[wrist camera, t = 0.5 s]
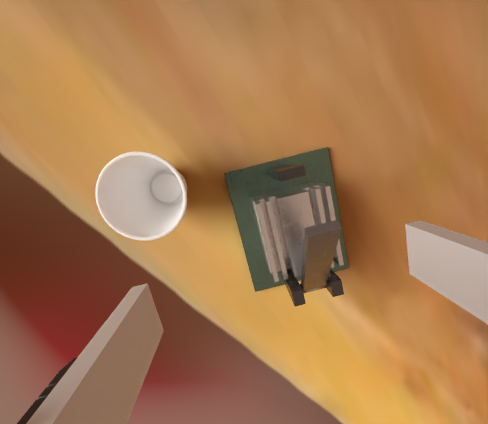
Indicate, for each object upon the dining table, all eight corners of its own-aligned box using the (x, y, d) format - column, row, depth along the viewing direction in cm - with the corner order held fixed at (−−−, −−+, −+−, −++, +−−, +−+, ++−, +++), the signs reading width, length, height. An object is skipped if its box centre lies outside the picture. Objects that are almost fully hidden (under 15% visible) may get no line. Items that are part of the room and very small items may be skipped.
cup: (208, 208, 39) (199, 225, 28) (149, 227, 39) (116, 252, 28) (187, 145, 37) (167, 138, 26) (124, 166, 37) (79, 167, 26)
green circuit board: (224, 173, 38) (221, 177, 28) (325, 147, 38) (359, 142, 28) (254, 289, 42) (261, 329, 32) (346, 266, 42) (382, 298, 32)
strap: (302, 227, 22) (306, 238, 22) (338, 218, 22) (344, 229, 22) (299, 286, 34) (302, 294, 33) (323, 280, 34) (326, 288, 33)
